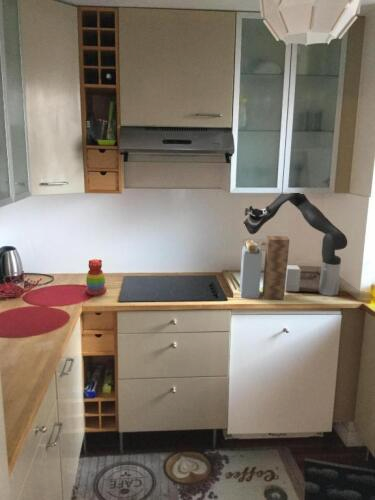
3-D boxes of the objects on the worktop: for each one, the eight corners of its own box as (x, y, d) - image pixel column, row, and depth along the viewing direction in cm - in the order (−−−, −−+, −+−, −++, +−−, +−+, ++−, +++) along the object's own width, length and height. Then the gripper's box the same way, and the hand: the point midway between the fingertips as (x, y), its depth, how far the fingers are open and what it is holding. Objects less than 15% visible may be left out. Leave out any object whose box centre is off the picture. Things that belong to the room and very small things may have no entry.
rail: (253, 246, 232) (253, 238, 231) (256, 253, 218) (257, 245, 216) (245, 245, 232) (245, 237, 231) (248, 253, 218) (248, 245, 216)
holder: (256, 291, 233) (259, 246, 226) (258, 298, 223) (262, 251, 216) (239, 290, 233) (242, 245, 226) (241, 297, 223) (244, 251, 217)
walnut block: (281, 295, 228) (286, 236, 219) (283, 300, 221) (289, 239, 212) (262, 294, 228) (266, 235, 219) (264, 299, 221) (269, 239, 212)
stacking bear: (106, 287, 232) (105, 256, 227) (107, 295, 222) (106, 261, 217) (85, 289, 229) (84, 256, 224) (85, 296, 220) (84, 262, 215)
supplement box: (298, 291, 234) (301, 269, 230) (285, 291, 234) (287, 269, 230) (295, 286, 241) (298, 265, 237) (282, 286, 241) (284, 264, 238)
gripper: (242, 210, 251) (246, 200, 235) (267, 211, 250) (272, 201, 235) (242, 222, 249) (246, 213, 233) (267, 223, 249) (272, 214, 233)
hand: (259, 207), depth 234 cm, fingers open, 8 cm apart
